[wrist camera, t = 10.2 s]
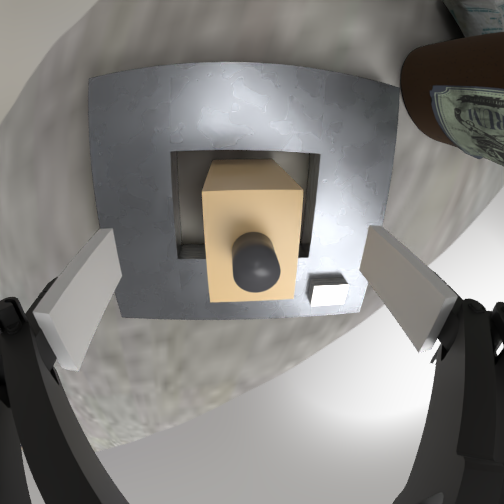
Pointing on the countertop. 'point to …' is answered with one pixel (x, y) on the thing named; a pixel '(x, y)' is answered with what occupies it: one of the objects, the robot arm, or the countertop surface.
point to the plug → (251, 230)
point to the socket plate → (239, 138)
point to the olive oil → (459, 93)
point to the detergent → (477, 16)
